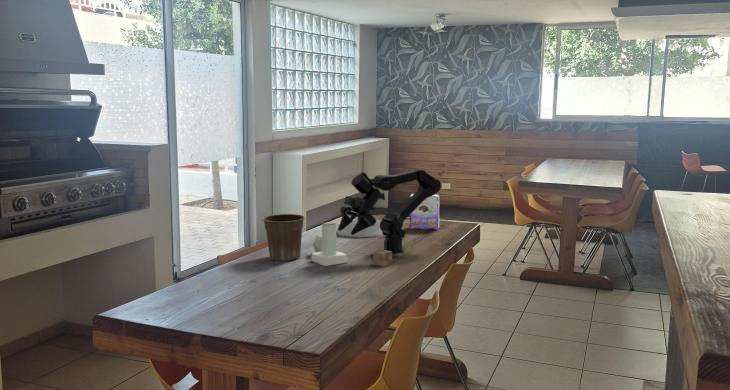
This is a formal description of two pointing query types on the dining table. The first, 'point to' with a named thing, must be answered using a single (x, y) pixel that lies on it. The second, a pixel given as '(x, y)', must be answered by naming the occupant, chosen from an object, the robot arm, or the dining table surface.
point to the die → (318, 243)
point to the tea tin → (329, 238)
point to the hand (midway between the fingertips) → (345, 232)
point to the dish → (366, 232)
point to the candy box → (426, 214)
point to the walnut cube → (382, 257)
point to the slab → (329, 258)
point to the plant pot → (284, 236)
